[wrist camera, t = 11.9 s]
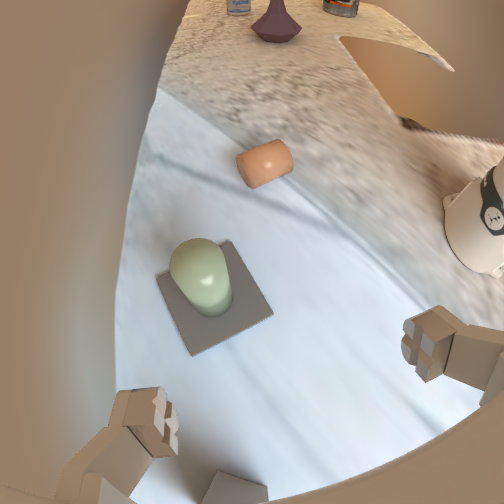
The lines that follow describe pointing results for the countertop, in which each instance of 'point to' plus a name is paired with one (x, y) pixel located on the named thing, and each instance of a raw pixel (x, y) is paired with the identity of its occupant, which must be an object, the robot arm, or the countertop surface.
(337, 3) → the supplement tub
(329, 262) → the countertop surface
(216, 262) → the pale green rounded cylinder
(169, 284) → the plate
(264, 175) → the tan rounded cylinder
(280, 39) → the flask
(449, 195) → the robot arm
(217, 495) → the perfume bottle
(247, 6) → the supplement tub
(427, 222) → the countertop surface
